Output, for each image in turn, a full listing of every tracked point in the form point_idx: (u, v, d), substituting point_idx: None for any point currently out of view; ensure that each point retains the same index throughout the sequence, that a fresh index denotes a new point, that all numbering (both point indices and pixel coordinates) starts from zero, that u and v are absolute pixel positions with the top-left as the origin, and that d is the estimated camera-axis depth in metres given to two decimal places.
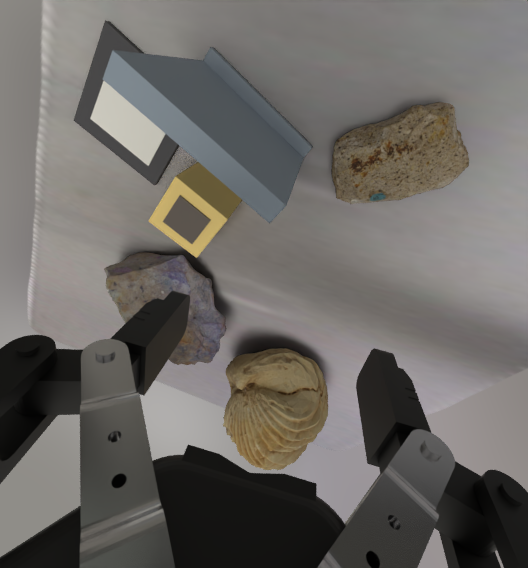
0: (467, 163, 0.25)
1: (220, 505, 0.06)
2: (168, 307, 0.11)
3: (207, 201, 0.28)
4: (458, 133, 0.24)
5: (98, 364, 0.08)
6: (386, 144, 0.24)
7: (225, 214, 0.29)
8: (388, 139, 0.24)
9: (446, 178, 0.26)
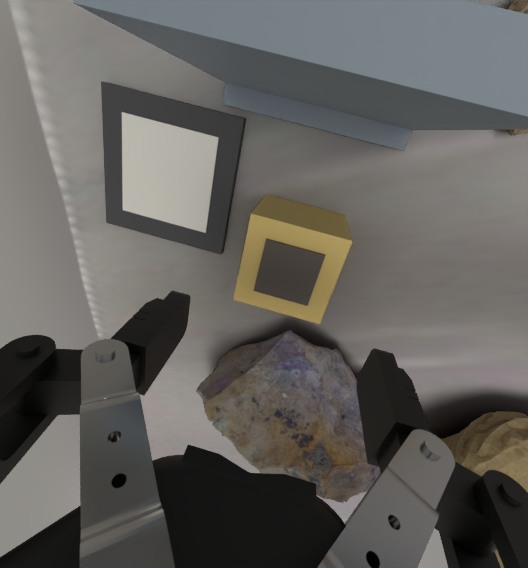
0: None
1: (220, 505, 0.06)
2: (168, 307, 0.11)
3: (310, 228, 0.17)
4: None
5: (98, 364, 0.08)
6: None
7: (343, 236, 0.17)
8: None
9: None
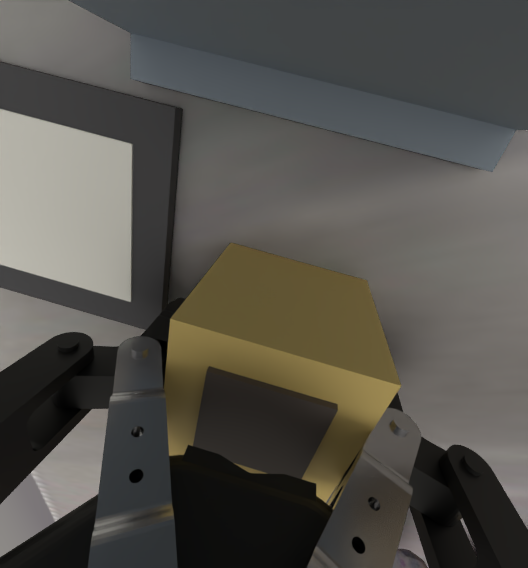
0: None
1: (220, 505, 0.06)
2: None
3: (304, 350, 0.08)
4: None
5: (134, 360, 0.08)
6: None
7: (378, 365, 0.08)
8: None
9: None
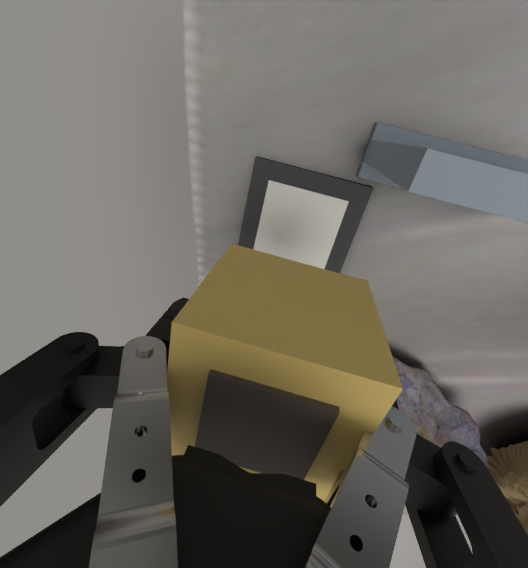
0: None
1: (220, 505, 0.06)
2: None
3: (306, 352, 0.08)
4: None
5: (140, 360, 0.09)
6: None
7: (379, 368, 0.08)
8: None
9: None
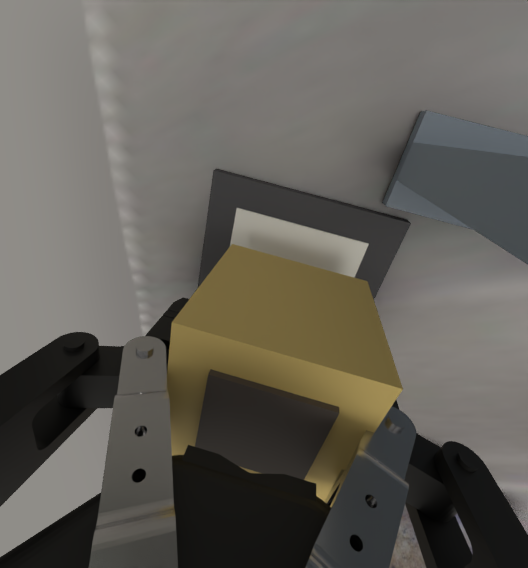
0: None
1: (220, 505, 0.06)
2: None
3: (306, 353, 0.08)
4: None
5: (140, 360, 0.09)
6: None
7: (379, 368, 0.08)
8: None
9: None
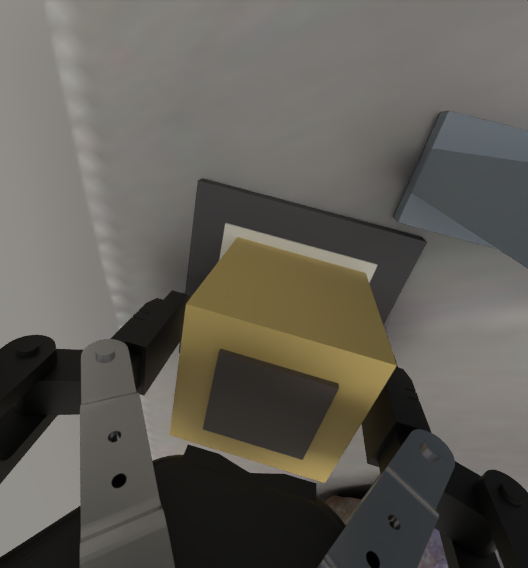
0: None
1: (220, 505, 0.06)
2: (168, 307, 0.11)
3: (309, 333, 0.08)
4: None
5: (98, 364, 0.08)
6: None
7: (375, 348, 0.08)
8: None
9: None
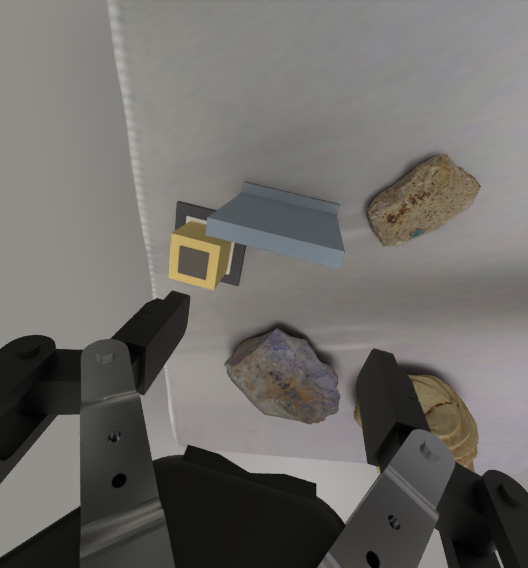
0: (479, 185, 0.31)
1: (220, 505, 0.06)
2: (168, 307, 0.11)
3: (200, 240, 0.35)
4: (460, 169, 0.31)
5: (98, 364, 0.08)
6: (408, 197, 0.31)
7: (217, 243, 0.35)
8: (408, 194, 0.31)
9: (467, 201, 0.32)
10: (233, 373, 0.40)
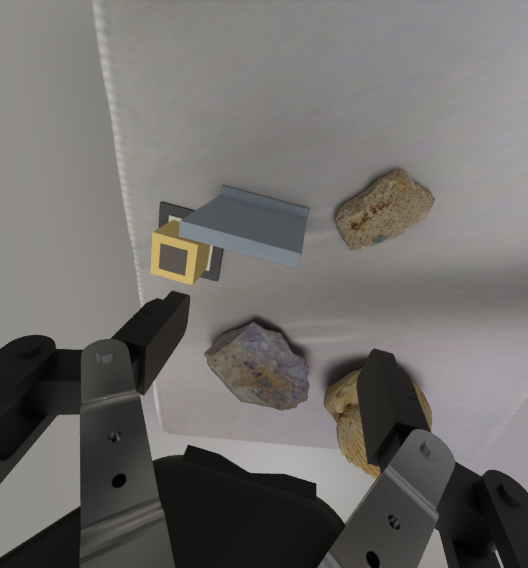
0: (433, 198, 0.34)
1: (220, 505, 0.06)
2: (168, 307, 0.11)
3: (180, 238, 0.38)
4: (416, 184, 0.34)
5: (98, 364, 0.08)
6: (370, 207, 0.35)
7: (195, 242, 0.38)
8: (369, 204, 0.35)
9: (423, 212, 0.35)
10: (210, 362, 0.44)
